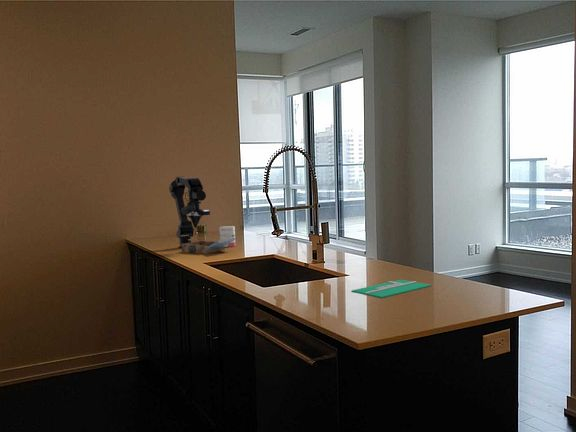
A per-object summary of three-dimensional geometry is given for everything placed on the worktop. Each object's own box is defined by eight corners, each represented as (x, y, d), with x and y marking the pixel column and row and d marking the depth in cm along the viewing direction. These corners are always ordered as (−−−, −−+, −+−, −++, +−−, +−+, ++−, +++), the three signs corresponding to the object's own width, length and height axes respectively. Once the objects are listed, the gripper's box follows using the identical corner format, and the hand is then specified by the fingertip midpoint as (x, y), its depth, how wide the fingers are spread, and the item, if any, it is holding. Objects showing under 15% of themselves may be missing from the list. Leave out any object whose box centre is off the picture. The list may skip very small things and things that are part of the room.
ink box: (235, 245, 351) (235, 225, 350) (234, 246, 346) (233, 226, 345) (221, 245, 352) (220, 226, 351) (219, 247, 347) (218, 227, 346)
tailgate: (205, 247, 323) (217, 240, 317) (222, 244, 334) (234, 237, 328) (206, 250, 322) (218, 243, 317) (223, 246, 334) (235, 239, 328)
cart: (179, 252, 331) (179, 244, 331) (202, 247, 346) (202, 240, 346) (203, 254, 321) (202, 246, 320) (226, 249, 336) (225, 241, 335)
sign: (400, 278, 231) (431, 284, 219) (400, 281, 231) (431, 287, 219) (351, 289, 215) (382, 295, 203) (351, 292, 215) (382, 299, 203)
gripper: (172, 201, 334) (173, 228, 336) (195, 201, 323) (197, 229, 325) (186, 199, 343) (187, 226, 345) (209, 199, 332) (211, 227, 334)
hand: (195, 227), depth 337 cm, fingers closed
